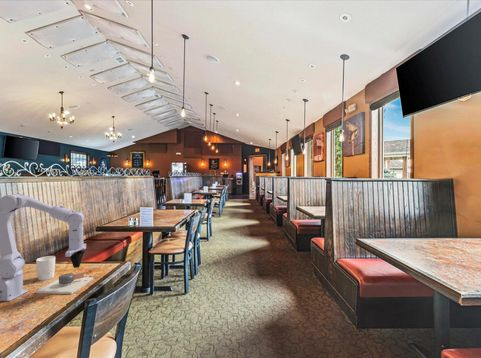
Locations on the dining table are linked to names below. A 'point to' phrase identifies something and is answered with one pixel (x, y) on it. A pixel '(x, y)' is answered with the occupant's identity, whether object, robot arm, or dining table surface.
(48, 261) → the white cup
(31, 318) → the dining table surface
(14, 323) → the dining table surface
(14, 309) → the dining table surface
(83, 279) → the joystick base
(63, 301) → the dining table surface
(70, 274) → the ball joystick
